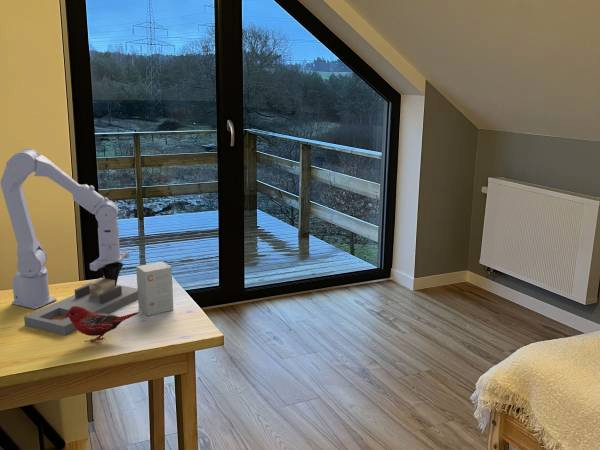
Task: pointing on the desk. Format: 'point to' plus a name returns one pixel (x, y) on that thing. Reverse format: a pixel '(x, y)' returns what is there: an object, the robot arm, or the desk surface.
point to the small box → (154, 288)
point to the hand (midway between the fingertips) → (111, 287)
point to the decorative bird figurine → (94, 322)
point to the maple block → (101, 286)
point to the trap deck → (55, 313)
